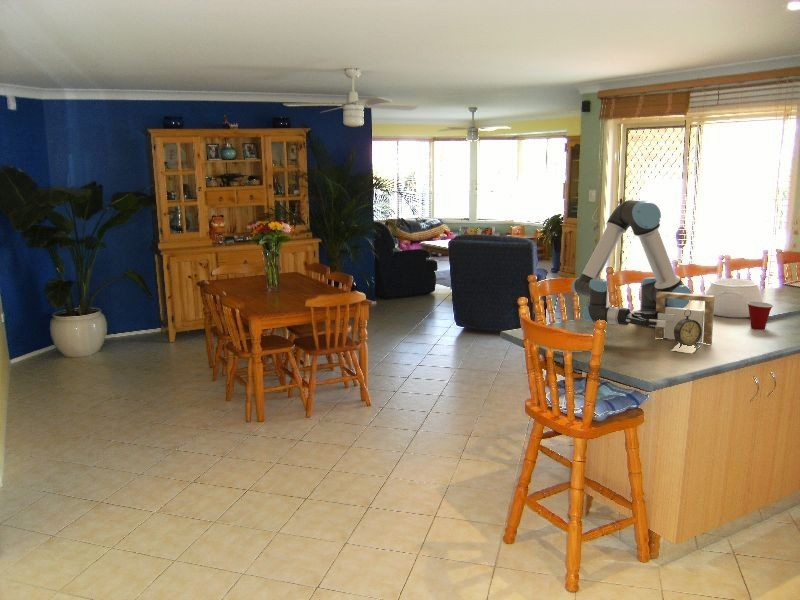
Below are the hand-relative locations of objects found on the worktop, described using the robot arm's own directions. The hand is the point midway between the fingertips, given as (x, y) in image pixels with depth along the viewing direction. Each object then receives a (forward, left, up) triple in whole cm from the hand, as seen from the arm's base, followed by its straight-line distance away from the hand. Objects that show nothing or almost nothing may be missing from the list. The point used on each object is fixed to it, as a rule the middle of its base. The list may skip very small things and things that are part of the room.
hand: (669, 320), depth 291 cm
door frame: (+3, +12, -11) cm, 17 cm away
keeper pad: (+7, 0, -11) cm, 13 cm away
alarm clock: (+7, 0, -11) cm, 13 cm away
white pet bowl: (+11, +79, -12) cm, 80 cm away
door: (+3, +12, -11) cm, 16 cm away
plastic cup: (+27, +51, -12) cm, 59 cm away
